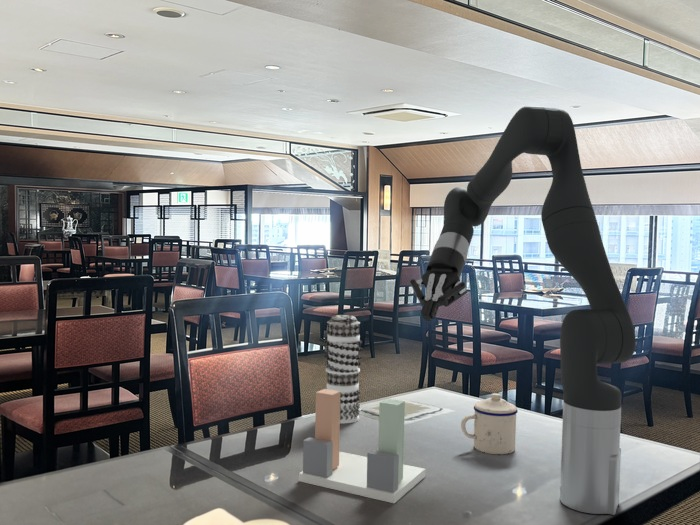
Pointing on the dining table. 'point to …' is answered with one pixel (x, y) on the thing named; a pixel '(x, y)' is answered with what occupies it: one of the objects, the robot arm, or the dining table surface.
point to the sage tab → (392, 430)
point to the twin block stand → (357, 472)
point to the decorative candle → (344, 364)
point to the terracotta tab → (328, 420)
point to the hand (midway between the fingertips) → (426, 318)
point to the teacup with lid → (493, 425)
